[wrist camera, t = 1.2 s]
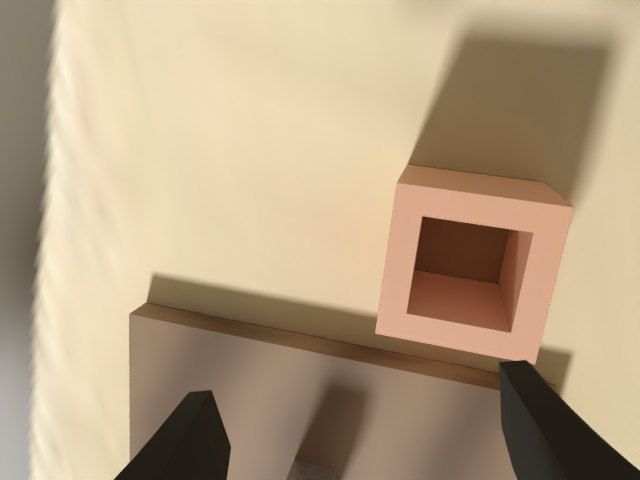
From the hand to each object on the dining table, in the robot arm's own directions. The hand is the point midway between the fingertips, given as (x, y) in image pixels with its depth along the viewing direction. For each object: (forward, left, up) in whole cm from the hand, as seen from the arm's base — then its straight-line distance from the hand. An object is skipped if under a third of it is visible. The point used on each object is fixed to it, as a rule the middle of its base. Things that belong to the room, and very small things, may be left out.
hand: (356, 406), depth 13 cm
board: (+2, +11, -11) cm, 16 cm away
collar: (-3, -2, -11) cm, 12 cm away
